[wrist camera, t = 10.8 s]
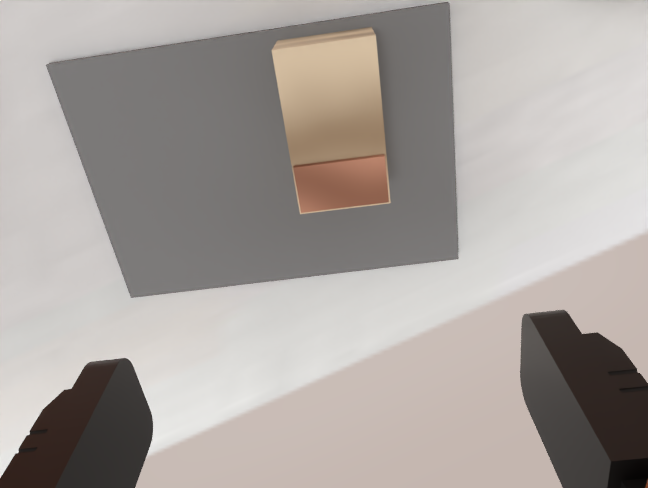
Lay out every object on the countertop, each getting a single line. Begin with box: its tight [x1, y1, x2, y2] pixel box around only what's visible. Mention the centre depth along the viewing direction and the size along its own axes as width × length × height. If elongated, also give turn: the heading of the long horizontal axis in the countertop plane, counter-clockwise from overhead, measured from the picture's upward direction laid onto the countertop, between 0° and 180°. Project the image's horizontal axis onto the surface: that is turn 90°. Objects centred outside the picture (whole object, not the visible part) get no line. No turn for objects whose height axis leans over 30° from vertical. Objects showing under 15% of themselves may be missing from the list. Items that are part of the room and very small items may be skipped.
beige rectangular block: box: [272, 27, 391, 214], centre depth 27 cm, size 8×5×3 cm, turn 8°
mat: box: [46, 2, 458, 298], centre depth 30 cm, size 20×14×1 cm
